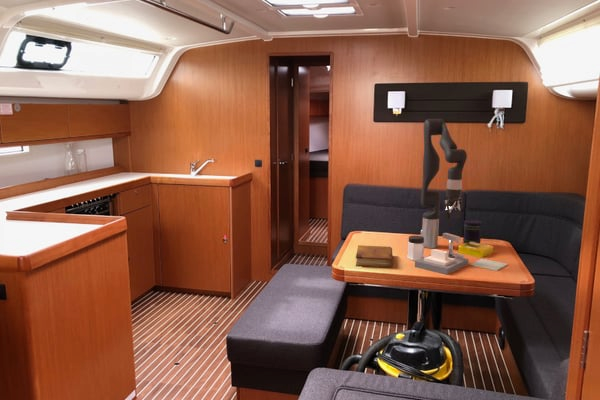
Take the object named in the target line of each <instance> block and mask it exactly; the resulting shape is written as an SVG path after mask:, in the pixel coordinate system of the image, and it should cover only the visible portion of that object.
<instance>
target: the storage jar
mask: <svg viewBox="0 0 600 400" xmlns="http://www.w3.org/2000/svg"><path fill="white" fill-rule="evenodd" d="M463 222H464V223H463V239H462V241H463V242H462V244H464V243H467V242H476V243H481V240H482V239H481V232H482V221H481V220H479V219H478V220H477V219H465V220H464V221H463Z"/></svg>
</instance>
